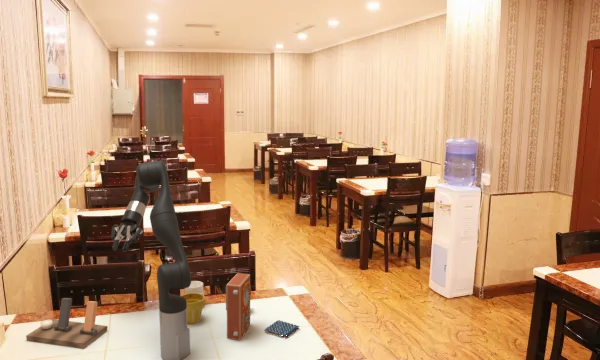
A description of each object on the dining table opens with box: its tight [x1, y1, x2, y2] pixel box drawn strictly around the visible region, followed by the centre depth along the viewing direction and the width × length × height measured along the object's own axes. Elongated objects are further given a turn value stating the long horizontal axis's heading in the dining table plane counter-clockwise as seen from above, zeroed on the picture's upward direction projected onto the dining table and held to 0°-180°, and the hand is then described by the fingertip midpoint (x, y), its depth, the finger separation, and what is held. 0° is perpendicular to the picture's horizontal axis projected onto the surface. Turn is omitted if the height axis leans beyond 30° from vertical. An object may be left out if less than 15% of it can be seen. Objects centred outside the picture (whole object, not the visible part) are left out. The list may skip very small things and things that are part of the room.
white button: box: [40, 319, 53, 329], centre depth 187 cm, size 4×4×2 cm
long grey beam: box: [58, 297, 73, 330], centre depth 186 cm, size 3×2×12 cm, turn 77°
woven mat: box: [263, 319, 300, 339], centre depth 192 cm, size 10×11×2 cm
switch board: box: [25, 318, 108, 350], centre depth 185 cm, size 24×14×4 cm, turn 77°
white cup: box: [184, 280, 204, 295], centre depth 212 cm, size 8×8×10 cm
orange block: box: [83, 300, 98, 334], centre depth 184 cm, size 3×2×12 cm, turn 77°
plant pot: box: [180, 293, 206, 325], centre depth 199 cm, size 10×10×10 cm
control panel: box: [225, 272, 252, 341], centre depth 189 cm, size 21×7×15 cm
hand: (119, 250), depth 198 cm, fingers open, 3 cm apart
